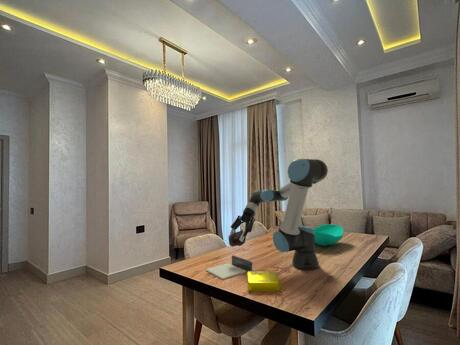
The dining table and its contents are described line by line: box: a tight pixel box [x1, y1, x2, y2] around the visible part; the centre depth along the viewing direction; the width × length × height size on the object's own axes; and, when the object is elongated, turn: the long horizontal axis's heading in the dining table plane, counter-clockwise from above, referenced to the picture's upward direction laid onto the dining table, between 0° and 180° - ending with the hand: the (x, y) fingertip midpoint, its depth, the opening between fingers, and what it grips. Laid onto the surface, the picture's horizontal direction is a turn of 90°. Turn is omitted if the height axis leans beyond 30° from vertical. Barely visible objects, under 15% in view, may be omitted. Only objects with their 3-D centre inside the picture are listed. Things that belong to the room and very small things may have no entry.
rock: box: [228, 229, 247, 248], centre depth 148 cm, size 12×9×10 cm
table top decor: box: [313, 223, 345, 247], centre depth 185 cm, size 40×28×13 cm
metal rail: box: [231, 255, 253, 272], centre depth 139 cm, size 17×2×5 cm, turn 37°
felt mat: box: [205, 262, 247, 281], centre depth 132 cm, size 17×16×1 cm
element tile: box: [246, 270, 281, 293], centre depth 114 cm, size 15×15×5 cm
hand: (235, 239), depth 146 cm, fingers closed on rock, 9 cm apart
